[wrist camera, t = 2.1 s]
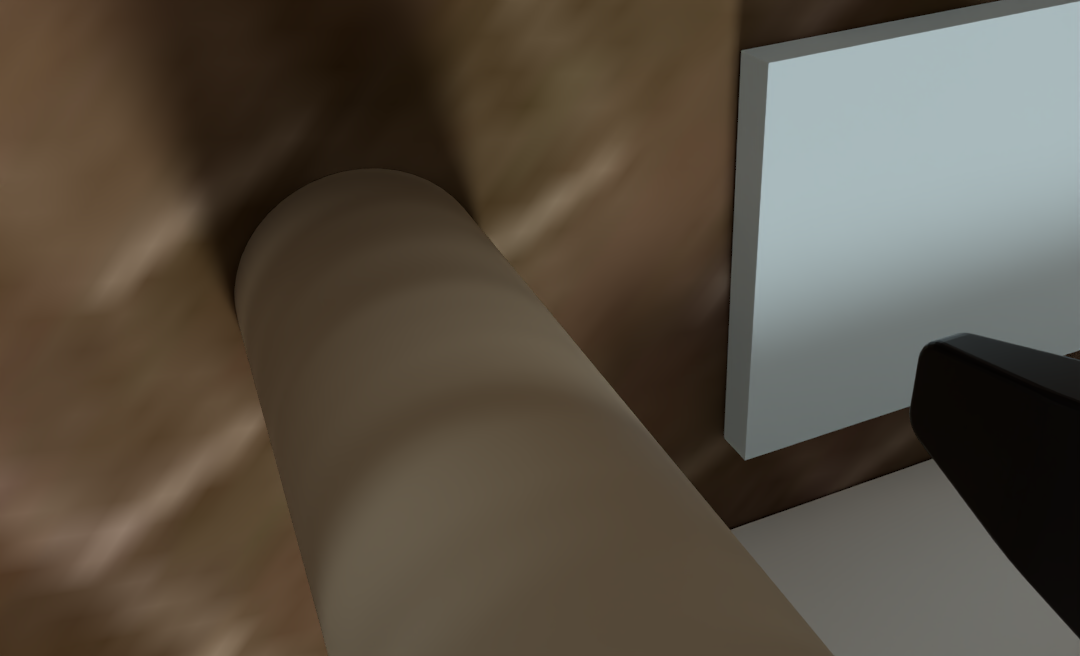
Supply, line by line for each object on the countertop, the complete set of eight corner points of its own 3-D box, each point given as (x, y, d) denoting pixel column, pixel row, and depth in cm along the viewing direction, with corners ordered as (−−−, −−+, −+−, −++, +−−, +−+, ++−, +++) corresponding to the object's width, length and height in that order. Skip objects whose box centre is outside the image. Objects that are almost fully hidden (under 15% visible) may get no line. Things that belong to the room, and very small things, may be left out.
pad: (723, 438, 15) (745, 460, 15) (741, 50, 12) (768, 62, 12) (1117, 312, 17) (1147, 328, 17) (1220, -42, 14) (1259, -35, 14)
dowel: (265, 424, 12) (630, 1773, 4) (205, 199, 10) (608, 1685, 2) (496, 361, 13) (1175, 1371, 5) (473, 144, 11) (1423, 1109, 3)
